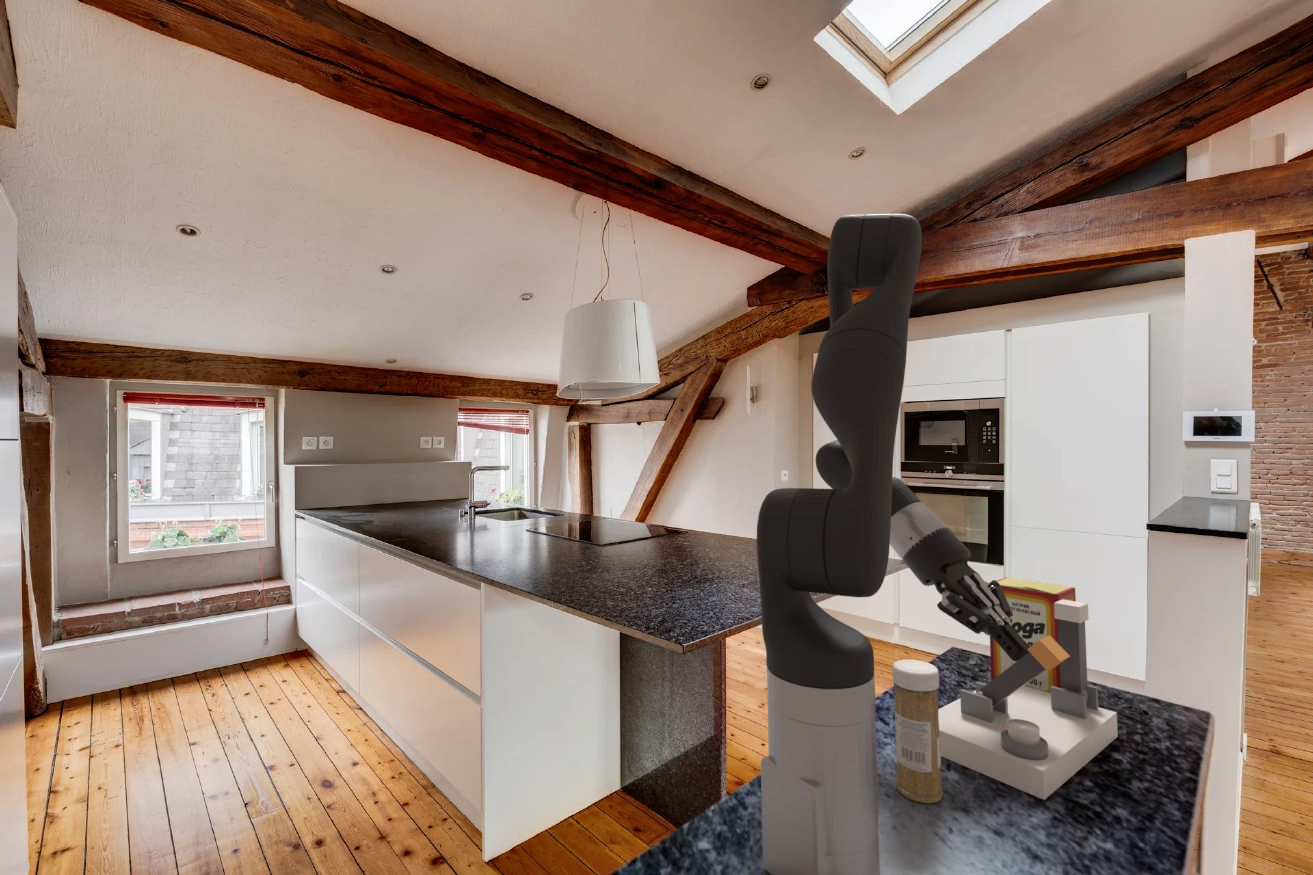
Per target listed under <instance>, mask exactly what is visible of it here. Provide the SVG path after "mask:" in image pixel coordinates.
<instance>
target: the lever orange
mask: <svg viewBox="0 0 1313 875" xmlns="http://www.w3.org/2000/svg"><path fill="white" fill-rule="evenodd" d="M1027 650H1028V651H1029V653H1027V654H1026V655H1025V656H1023V657H1022V658H1021V659H1019V660H1018V661H1017V662H1016V663H1014V664H1013V665H1012V666H1010V667H1009V668H1008V669H1006V670H1005V671H1004V672H1002V673H1001V674H1000V675H998V676H997V677H996V678H995V679H993V680H992V681H989V682H988V683H986V684H987V685H985V686H984V687H983V688H981V689H980V691H979V692H977V693H976V694H980V695H983V696H986V697H989V698H992V705H993V707H995V706H996V705H997V704H998V703H1000V702H1002V701H1003V700H1005V699H1006V698H1007V697H1009V696H1010V695H1012V694H1013V693H1014V692H1016V691H1017V690H1018V689H1020V688H1021V687H1023V686H1024V685H1025V684H1027V683H1028V682H1030V681H1031V680H1032V679H1034V678H1035V677H1036V676H1038V675H1039V674H1041V673H1042V672H1043V671H1045V670H1047V671H1048V670H1050V669H1052V668H1054V667H1055V666H1057V665H1059V664H1060V663H1061V662H1063V661H1064V660H1066V659H1067V658H1068V657H1070V655H1069V654H1068V653H1067V652H1066V651H1065V650H1064V649H1063V648H1062V647H1061V646H1060V645H1059V644H1058V643H1057V642H1056V641H1055V640H1054V639H1053V638H1052V637H1051V636H1050V635H1049V636H1047V637H1045V638H1043V639H1041V640H1039V641H1038V642H1036V643H1035V644H1034V645H1032V646H1031V647H1030V648H1028V649H1027Z"/></svg>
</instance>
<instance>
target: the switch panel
mask: <svg viewBox="0 0 1313 875" xmlns="http://www.w3.org/2000/svg"><path fill="white" fill-rule="evenodd" d="M987 684H988V683H984V682H982V681H981V682H980V681H976V682H975V690H973V691H970V690H966V689H960V694H959V695H960V696H959V697H960V698H958V699H956V700H954V701H952V702H950V703H949V704H945V705H944V706H943V707H940V708H938V717H939V718H938V719H939V736H940V748H941V758H945V759H947V760H949V761H952V762H954V763H956V764H958V765H960V766H964V767H966V768H968V769H971V770H973V771H975V772H978V773H981V774H983V775H985V776H987V777H989V778H992V779H994V780H997V781H999V782H1001V783H1004V784H1006V785H1008V786H1010V787H1013V788H1014V789H1015V788H1016V789H1018V790H1020V791H1022V792H1024V793H1027V794H1030V795H1031V796H1034V797H1036V798H1038V799H1041V800H1043V801H1045V800H1046V799H1047V798H1049V796H1051V795H1052V794H1053V793H1055V791H1057V790H1058V789H1059V788H1060V787H1061V786H1063V785H1064V784H1065V783H1066V782H1067V781H1068V780H1070V778H1071V777H1073V776H1074V775H1076V773H1077V772H1078V771H1080V769H1082V768H1083V767H1084V766H1086V765H1087V764H1088V763H1089V762H1090V761H1091V760H1092V759H1093V758H1095V757H1096V756H1097V755H1098V754H1100V753H1101V752H1102V751H1103V750H1104V749H1105V748H1106V747H1108V746H1109V745H1110V744H1111V743H1112V742H1113V741H1114V740H1116V739H1117V738H1118V735H1119V734H1118V733H1119V732H1118V712H1116V711H1114V710H1109V709H1106V708H1103V707H1099V691H1098V690H1099V689H1098V688H1099V687H1098V686H1095V685H1091V684H1088V683H1087V686H1088V689H1086V690H1085V691H1086V692H1087V694H1088V697H1089V699H1088V701H1087V702H1086V695H1083V694H1080V693H1076V692H1073V691H1069V690H1067V689H1065V688H1064V689H1062V688H1058V687H1055V686H1052V687H1051V693H1048V692H1044V691H1041V690H1037V689H1034V688H1030V687H1027V686H1023V687H1021V688H1020V689H1018V690H1017V691H1016V692H1014V693H1013V694H1012V695H1010V696H1009V697H1007V698H1006V699H1005V700H1003V701H1002V702H1000V703H998V704H997V705H996V706H995V707H993V705H992V698H989V697H986V696H983V695H980V694H976V693H977V692H979V691H980V689H981V688H983V687H984V686H985V685H987Z"/></svg>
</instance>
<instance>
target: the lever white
mask: <svg viewBox="0 0 1313 875" xmlns="http://www.w3.org/2000/svg"><path fill="white" fill-rule="evenodd" d="M1054 616H1055V619H1058V627H1059V645H1060V646H1061V647H1062V648H1063V649H1064V650H1065V651H1066V652H1067V653H1068V654H1069V655H1070V657H1068V658H1067V659H1066V660H1064V661H1063V662H1061V663H1060V679H1061V687H1062V688H1065V689H1067V690H1069V691H1073V692H1076V693H1080V694H1083V695H1086V702H1087V701H1088V699H1089V697H1088V694H1087V692H1086V691H1085V690H1086V689H1088V686H1087V684H1088V667H1087V637H1086V636H1087V635H1086V621H1088V620H1089V619H1090V618H1089V603H1085V602H1082V601H1070V600H1064V599H1062V600H1060V601H1057V602H1055V603H1054Z"/></svg>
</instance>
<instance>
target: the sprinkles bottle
mask: <svg viewBox="0 0 1313 875" xmlns="http://www.w3.org/2000/svg"><path fill="white" fill-rule="evenodd" d="M891 669H892V681H893V686H894V706H895V708H894V723H895V728H894V729H895V730H894V732H895V753H896V754H895V756H896V764H897V765H896V766H897V767H896V768H897V770H896V771H897V780H896V788H897V790H898V791H899V793H900V794H902V796H904V797H905V798H907V799H909V800H911V801H912V802H913V801H914V802H917V803H921V804H932V803H933V804H934V803H937V802H939V801H941V799H942V798H943V794H944V792H943V788H942V772H941V771H942V770H941V769H942V768H941V765H942V756H941V748H940V736H939V719H938V718H939V717H938V709H939V699H938V691H939V687H940V676H939V675H940V674H939V672H940V671H939V669H938V667H936V666H935V665H933V664H931V663H929V662H926V661H922V660H917V659H899V660H896V661H895V662H894V663H892V668H891Z"/></svg>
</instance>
